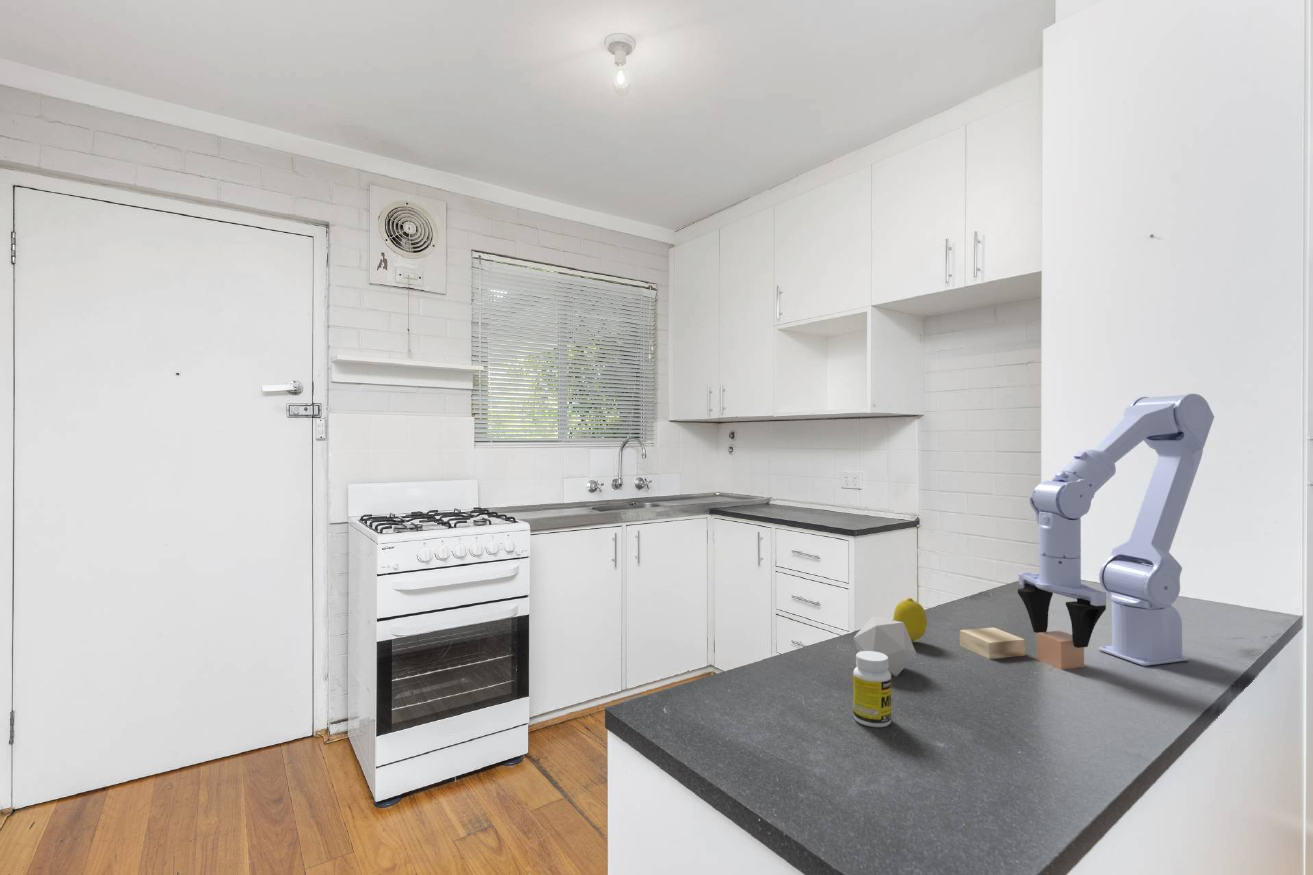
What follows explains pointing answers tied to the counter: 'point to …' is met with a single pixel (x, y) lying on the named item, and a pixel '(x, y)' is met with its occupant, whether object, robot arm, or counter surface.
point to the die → (887, 642)
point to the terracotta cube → (1059, 650)
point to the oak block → (992, 643)
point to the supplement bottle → (872, 689)
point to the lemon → (911, 618)
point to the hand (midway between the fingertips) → (1059, 638)
